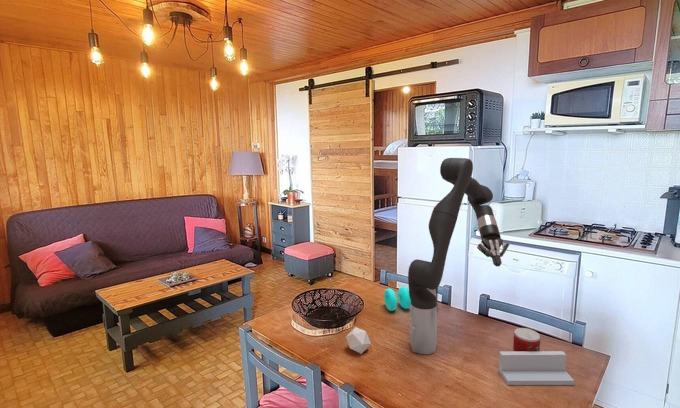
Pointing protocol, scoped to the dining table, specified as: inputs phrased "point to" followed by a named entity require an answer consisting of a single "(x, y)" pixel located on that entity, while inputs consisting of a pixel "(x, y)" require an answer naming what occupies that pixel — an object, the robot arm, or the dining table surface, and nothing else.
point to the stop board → (534, 368)
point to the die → (358, 340)
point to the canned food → (526, 340)
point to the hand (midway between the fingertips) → (498, 265)
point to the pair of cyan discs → (392, 300)
